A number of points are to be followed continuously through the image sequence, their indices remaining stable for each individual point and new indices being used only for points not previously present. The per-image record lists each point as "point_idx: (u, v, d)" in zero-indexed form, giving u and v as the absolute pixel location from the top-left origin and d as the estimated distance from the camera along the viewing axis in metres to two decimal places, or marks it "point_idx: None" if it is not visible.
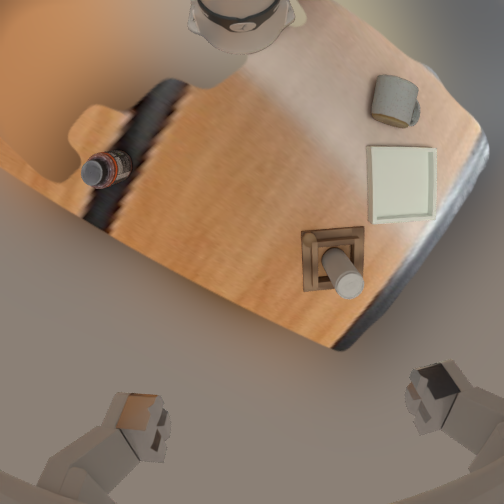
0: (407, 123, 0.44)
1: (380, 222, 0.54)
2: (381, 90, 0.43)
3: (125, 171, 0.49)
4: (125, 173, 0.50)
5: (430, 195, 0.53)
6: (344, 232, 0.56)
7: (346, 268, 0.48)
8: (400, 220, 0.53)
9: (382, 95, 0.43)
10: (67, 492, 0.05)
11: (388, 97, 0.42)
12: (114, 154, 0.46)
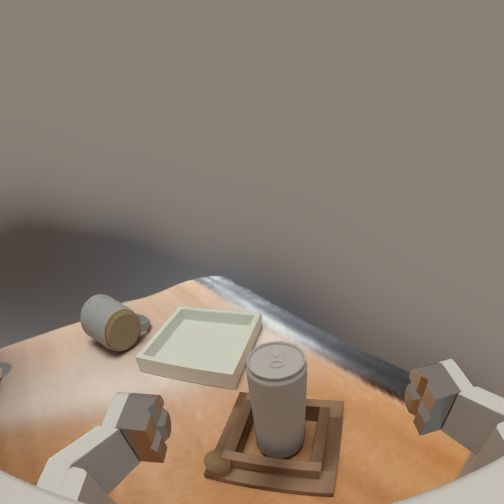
0: (129, 309, 0.44)
1: (234, 365, 0.36)
2: (89, 323, 0.42)
3: None
4: None
5: (231, 319, 0.48)
6: (235, 417, 0.30)
7: None
8: (243, 345, 0.40)
9: (92, 321, 0.42)
10: (67, 492, 0.05)
11: (95, 315, 0.42)
12: None
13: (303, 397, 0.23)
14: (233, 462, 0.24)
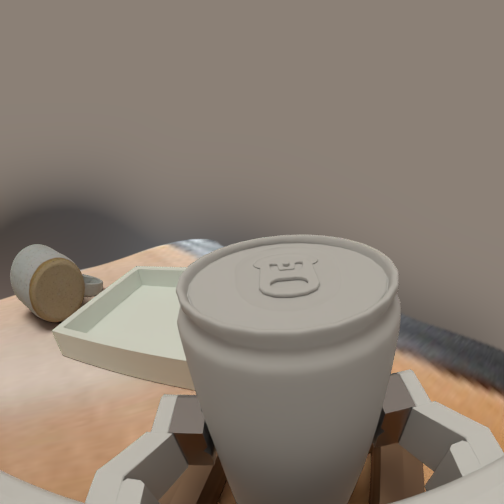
0: (67, 259, 0.28)
1: None
2: (16, 279, 0.26)
3: None
4: None
5: None
6: None
7: None
8: None
9: (18, 276, 0.26)
10: None
11: (22, 267, 0.26)
12: None
13: (379, 413, 0.06)
14: None
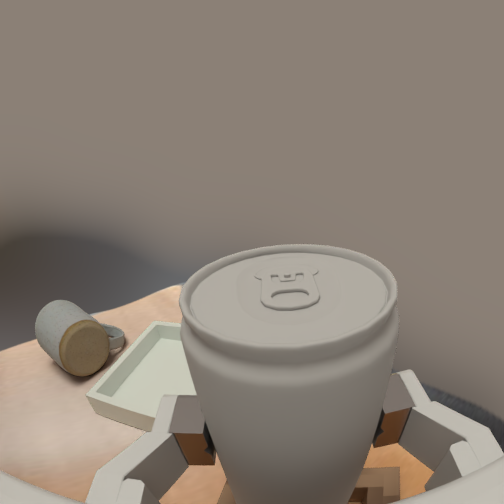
0: (92, 320, 0.31)
1: None
2: (43, 337, 0.29)
3: None
4: None
5: None
6: (227, 502, 0.16)
7: None
8: None
9: (45, 336, 0.28)
10: None
11: (48, 327, 0.29)
12: None
13: (377, 420, 0.06)
14: None
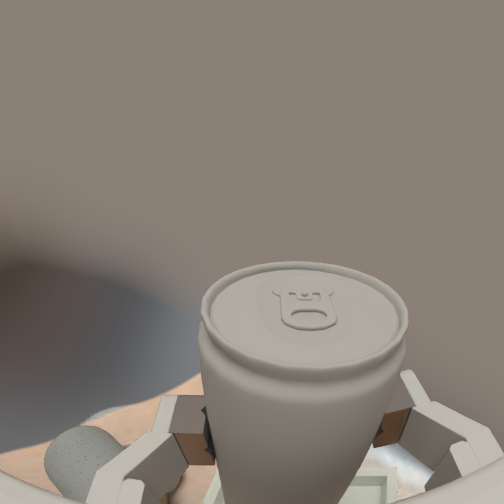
0: None
1: None
2: (63, 492, 0.14)
3: None
4: None
5: None
6: None
7: None
8: None
9: (68, 494, 0.14)
10: None
11: (71, 486, 0.14)
12: None
13: (374, 434, 0.07)
14: None
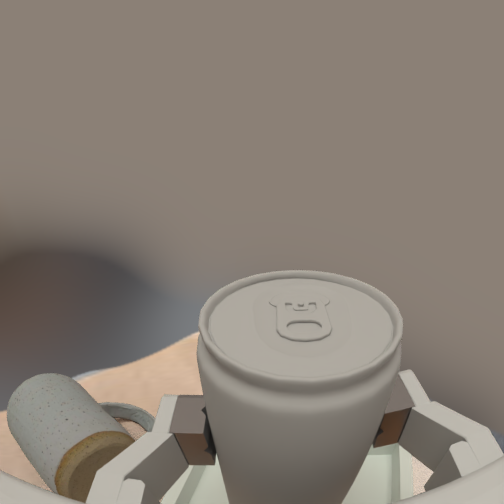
0: (109, 430, 0.14)
1: None
2: (22, 447, 0.12)
3: None
4: None
5: None
6: None
7: None
8: None
9: (26, 449, 0.12)
10: None
11: (29, 438, 0.12)
12: None
13: (372, 439, 0.07)
14: None
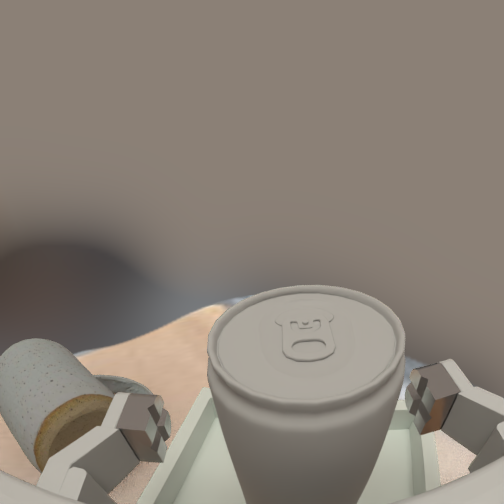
0: (97, 394, 0.13)
1: None
2: (5, 416, 0.12)
3: None
4: None
5: None
6: None
7: None
8: None
9: (8, 417, 0.11)
10: (67, 492, 0.05)
11: (11, 403, 0.11)
12: None
13: (381, 445, 0.07)
14: None
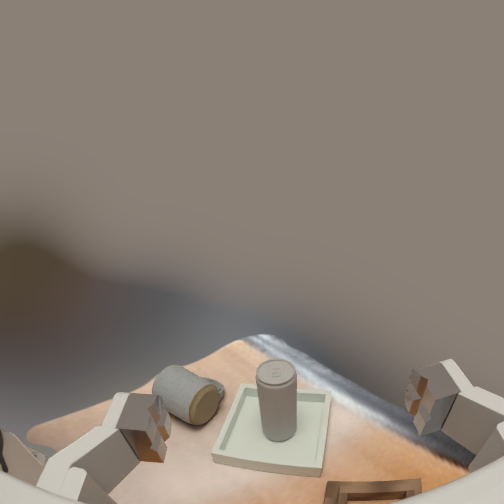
0: (210, 384, 0.42)
1: (321, 457, 0.31)
2: (166, 399, 0.40)
3: None
4: None
5: (299, 397, 0.43)
6: None
7: None
8: (323, 432, 0.35)
9: (170, 399, 0.40)
10: (67, 492, 0.05)
11: (173, 393, 0.40)
12: None
13: (294, 396, 0.34)
14: None
